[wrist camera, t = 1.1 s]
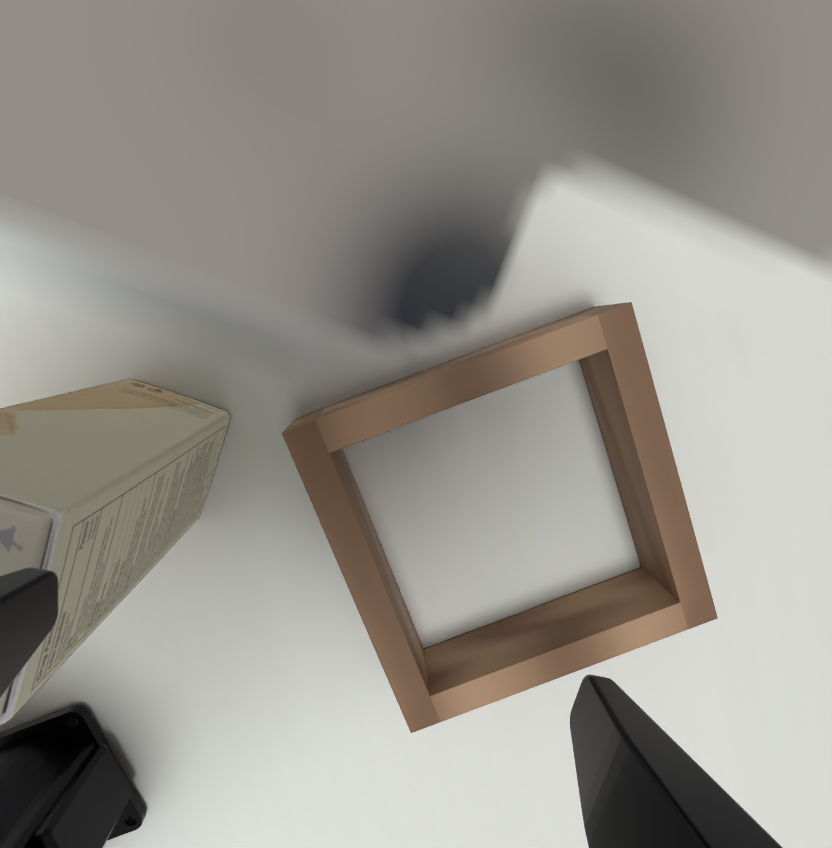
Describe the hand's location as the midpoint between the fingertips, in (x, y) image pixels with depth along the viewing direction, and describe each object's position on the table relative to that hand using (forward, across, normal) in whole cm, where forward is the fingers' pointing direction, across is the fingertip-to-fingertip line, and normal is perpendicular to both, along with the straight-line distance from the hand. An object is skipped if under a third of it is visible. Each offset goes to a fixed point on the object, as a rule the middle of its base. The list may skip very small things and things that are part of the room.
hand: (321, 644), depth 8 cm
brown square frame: (+13, -5, +2) cm, 14 cm away
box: (+12, +9, +3) cm, 15 cm away
